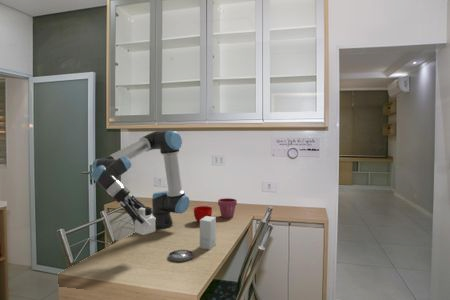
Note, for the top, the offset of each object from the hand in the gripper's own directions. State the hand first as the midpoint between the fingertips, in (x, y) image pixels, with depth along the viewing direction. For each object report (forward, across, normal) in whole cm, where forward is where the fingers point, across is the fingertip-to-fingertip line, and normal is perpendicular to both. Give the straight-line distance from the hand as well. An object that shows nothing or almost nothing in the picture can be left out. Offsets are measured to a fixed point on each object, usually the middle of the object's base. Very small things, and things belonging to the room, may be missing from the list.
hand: (151, 223), depth 134 cm
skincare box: (+31, -14, +7) cm, 35 cm away
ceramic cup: (+28, -57, +4) cm, 64 cm away
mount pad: (+22, 0, -2) cm, 22 cm away
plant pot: (+40, -74, +16) cm, 85 cm away
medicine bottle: (+1, 0, -5) cm, 5 cm away
